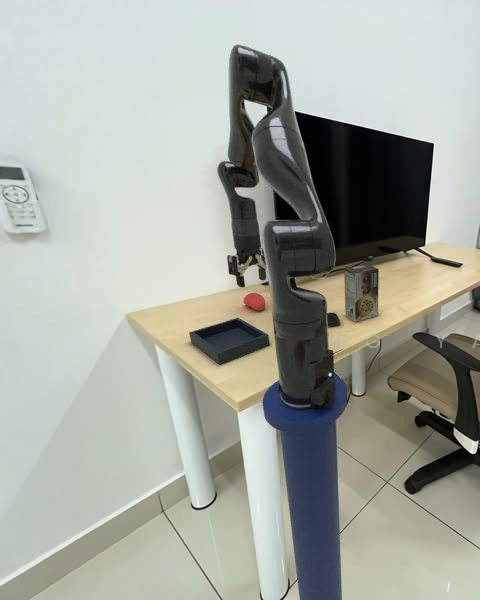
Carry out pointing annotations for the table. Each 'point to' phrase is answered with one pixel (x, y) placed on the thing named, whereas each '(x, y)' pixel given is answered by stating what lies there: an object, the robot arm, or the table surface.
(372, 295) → the coffee box
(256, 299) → the stress ball
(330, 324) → the phone
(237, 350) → the tray
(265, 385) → the table surface
